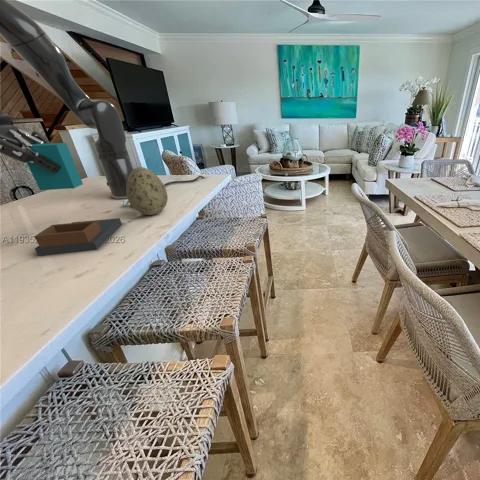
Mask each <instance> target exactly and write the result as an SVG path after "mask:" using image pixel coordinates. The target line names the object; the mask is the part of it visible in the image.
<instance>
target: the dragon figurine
mask: <svg viewBox="0 0 480 480" xmlns="http://www.w3.org/2000/svg"><path fill="white" fill-rule="evenodd" d="M121 202H123V203H122V207H126V206H128V205H129V204H130V203H129V201H128V200H127V201H126V203H125V201H124V200H121Z"/></svg>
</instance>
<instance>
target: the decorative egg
mask: <svg viewBox="0 0 480 480" xmlns="http://www.w3.org/2000/svg"><path fill="white" fill-rule="evenodd" d="M133 169H134V170H133V171H132V172H131V173H130V175H129V177H128V179H127V183H126V195H127V198H126V199H127V201H129V203H128V204H129V205H130V206H131V207H132V208H133V209H134V210H135V211H137V212H138V213H141V214H143V215H148V216H154V215H158V214H159V213H161V212H162V211H163V210H164V209H165V208H166V206H167V204H168V199H169V198H168V197H169V195H168V191H167V188H166V186H164V184H165V183H164V182H163V181H162V180H161V179H160V178H159V176H158V175H157V174H156V173H155V172H153V171H152V170H150V169H148V168H146V167H143V166H137V167H135V168H133Z"/></svg>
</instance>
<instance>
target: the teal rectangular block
mask: <svg viewBox="0 0 480 480" xmlns="http://www.w3.org/2000/svg"><path fill="white" fill-rule="evenodd" d="M31 145H32V146H31V148H32V149H34V150H36V151H37V152H39V153H40V154H41V155H40V156H42V155H43V156H45V157H47V158H49V159H50V160H52V161H54V162H55V163H57V164H59V165H60V166H61V168H60V170H59V171H58V172H57V173H52V172H51V171H49V170H47V169H45V168H44V167H42V166H40V165H38V164H37V163H31V162H29V161H27V162H26V165H27V166H28V169H29V171H30V172H31V175H32V176H33V179H34V180H35V183H36V185H37V187H38V189H39V190H40V191H49V190H50V191H51V190H70V189H76V188H78V187H80V186H82V185H84V183H83V180H82V178H81V175H80V173H79V170H78V168H77V165H76V163H75V160H74V158H73V156H72V154H71V153H72V152H71V151H70V149H69V145H68V144H67V142H51V143H44V144H31ZM21 148H22V147H21Z"/></svg>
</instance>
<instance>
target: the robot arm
mask: <svg viewBox="0 0 480 480" xmlns="http://www.w3.org/2000/svg"><path fill="white" fill-rule="evenodd" d="M0 37H1V38H2V39H3V40H4V41H5V42H6V43H7V45H8V46H10V47H11V48H12V49H13V51H14V52H16V54H18V56H19V57H20V58H21V59H22V60H24V62H26V64H27V65H29V67H30V68H31V69H33V70H34V72H35V73H36V74H37V75H38V76H39V77H40V78H41V79H42V80H43V81H44V82H45V83H46V84H47V85H48V87H50V88H51V89H52V90H53V91H54V93H55V94H56V95H57V96H58V97H59V98H60V99H61V101H62V102H63V103H64V105H66V106H67V108H68V109H69V110H70V111H71V112H72V114H73V115H74V117H76V118H77V120H79V122H81V124H83V125H84V126H85V127H88V128H90V129H93V130H96V132H97V135H98V137H97V139H96V140H95V141H94V142H93V148H94V150H95V153H96V156H97V158H98V160H99V164H100V167H101V169H102V171H103V174H104V177H105V179H106V186H107V187H108V188H109V191H110V194H111V196H112V198H113V199H115V200H116V199H117V200H118V199H119V200H123V199H128V198H127V195H126V183H127V179H128V177H129V175H130V173H131V172H132V171H133V170H134V169H135V168H134V167H133V164H132V161H131V158H130V154H129V151H128V149H127V144H126V142H127V138H126V137H127V136H126V132H125V129H124V125H123V121H122V118H121V115H120V113H119V111H118V110H117V109H118V108H117V107H115V105H114V104H112V103H111V102H110V101H108V100H104V99H92V98H90V96H88V95H87V93H86V92H85V91H84V90H83V89H82V88H81V87H80V86H79V85H78V83H77V82H76V81H75V79H74V78H73V75H72V73H71V71H70V68H69V66H68V63H67V61H66V58H65V56H64V54H63V53H62V51H61V50H60V48H59V47H58V45H56V43H55V42H54V41H53V39H52V38H51V37H50V36H49V35H48V34H47V32H46V31H45V30H44V29H43V28H42V27H41V26H40V25H39V24H38V23H37V22H36V21H35V20H34V19H32V17H30V16H29V15H28V14H26V13H25V12H24V11H22V10H21V9H20V8H18V7H17V6H15V5H14V4H13V3H11V2H10V1H8V0H0ZM13 121H14V119H13V118H12V116H11V115H10V114H8V113H6V112H5V111H3V110H2V109H0V154H3V155H5V156H7V157H10V158H11V159H14V160H17V161H19V162H20V163H25V164H27V161H29V162H31V163H37V164H38V165H40V166H42V167H44V168H45V169H47V170H49V171H51V172H52V173H57V172H58V171H59V170H60V168H61V166H60V165H59V164H57V163H55V162H54V161H52V160H50V159H49V158H47V157H45V156H43V155H42V156H40V155H41V154H40V153H39V152H37V151H36V150H34V149H32V148H31V146H32V145H31V144H44V143H52V142H51V141H50V140H48V139H47V138H46V137H45V136H43V134H41V133H40V132H38V131H36V130H33V131H32V132H30V133H29V132H28V131H26V130H24V129H22V128H19V127H17V126H15V124H14V122H13ZM21 147H22V148H21ZM200 178H201V179H205V176H203V175H198V176H197V177H195V178H194V179H189V180H173V181H169V182H166V183H163V184H164V186H165V187H166V186H168V185H171V184H179V183H192V182H196V181H198V180H199V179H200Z"/></svg>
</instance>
